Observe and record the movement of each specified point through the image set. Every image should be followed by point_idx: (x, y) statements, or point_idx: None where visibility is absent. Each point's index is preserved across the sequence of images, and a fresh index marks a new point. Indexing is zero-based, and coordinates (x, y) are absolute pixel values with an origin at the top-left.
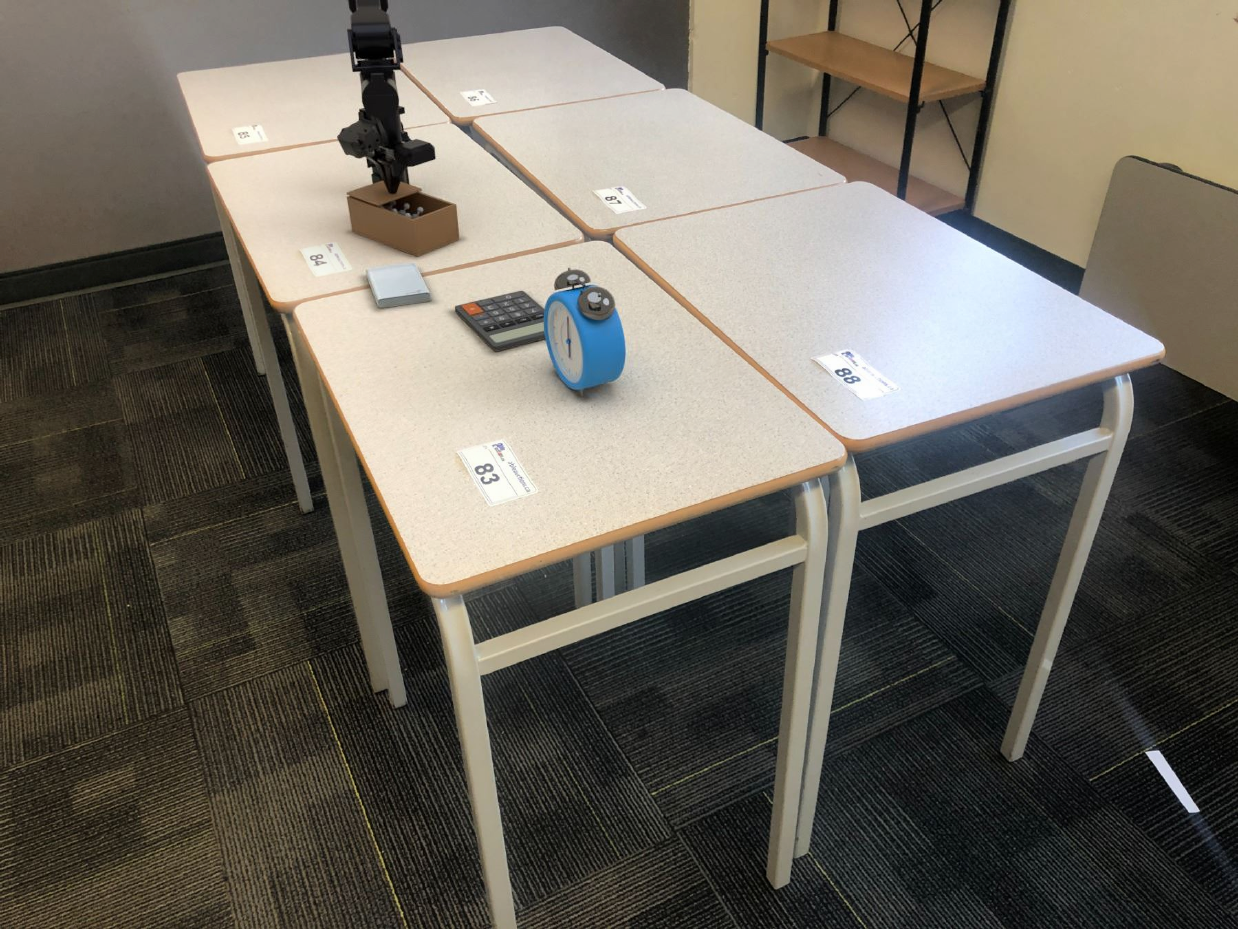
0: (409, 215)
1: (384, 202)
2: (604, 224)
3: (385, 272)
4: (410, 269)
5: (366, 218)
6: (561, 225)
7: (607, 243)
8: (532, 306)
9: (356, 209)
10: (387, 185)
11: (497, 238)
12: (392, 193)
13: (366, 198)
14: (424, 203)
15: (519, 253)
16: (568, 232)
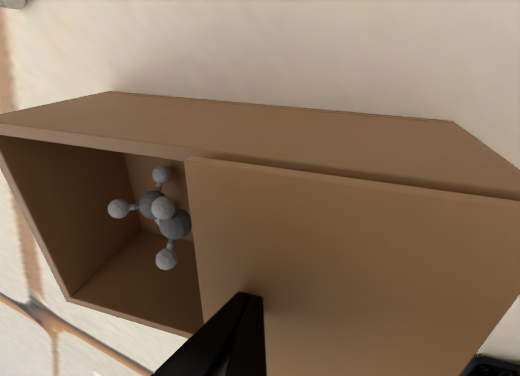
0: (151, 208)
1: (191, 200)
2: (72, 345)
3: None
4: None
5: (334, 134)
6: (98, 331)
7: (15, 299)
8: None
9: (419, 152)
10: (241, 331)
11: None
12: (236, 293)
13: (314, 191)
14: None
15: (28, 225)
16: (71, 314)
